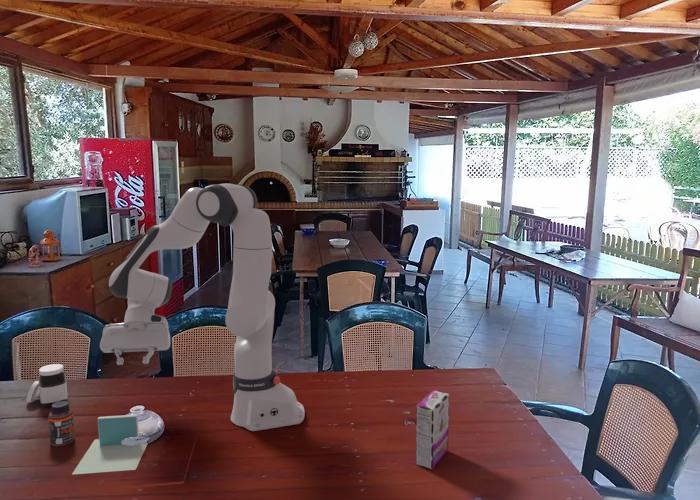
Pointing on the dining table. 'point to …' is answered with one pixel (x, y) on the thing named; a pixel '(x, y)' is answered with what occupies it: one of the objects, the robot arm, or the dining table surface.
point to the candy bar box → (432, 429)
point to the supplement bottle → (61, 424)
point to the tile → (117, 429)
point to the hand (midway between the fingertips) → (132, 363)
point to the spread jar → (49, 385)
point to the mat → (110, 458)
